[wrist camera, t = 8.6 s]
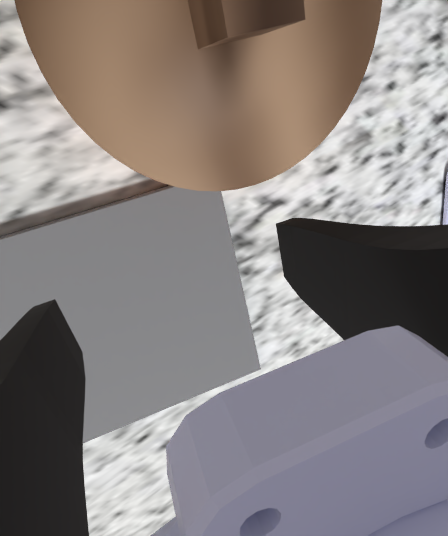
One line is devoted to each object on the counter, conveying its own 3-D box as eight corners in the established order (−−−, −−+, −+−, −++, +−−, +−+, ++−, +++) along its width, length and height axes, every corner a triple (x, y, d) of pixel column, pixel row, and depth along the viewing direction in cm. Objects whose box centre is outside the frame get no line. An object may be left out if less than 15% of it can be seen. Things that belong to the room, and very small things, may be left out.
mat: (214, 172, 21) (217, 174, 21) (257, 364, 28) (260, 369, 28) (-67, 256, 19) (-71, 261, 18) (59, 445, 26) (59, 453, 25)
